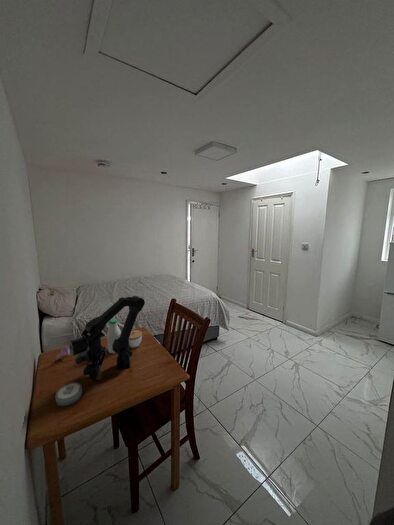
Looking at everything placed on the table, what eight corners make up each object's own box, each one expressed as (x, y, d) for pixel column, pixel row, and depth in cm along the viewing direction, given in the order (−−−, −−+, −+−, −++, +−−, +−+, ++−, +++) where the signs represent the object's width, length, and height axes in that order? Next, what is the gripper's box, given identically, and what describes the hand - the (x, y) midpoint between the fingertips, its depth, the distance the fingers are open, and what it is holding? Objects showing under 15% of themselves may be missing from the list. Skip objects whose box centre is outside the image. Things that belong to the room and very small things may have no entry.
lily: (80, 352, 129) (72, 339, 129) (83, 353, 120) (74, 339, 120) (59, 366, 122) (50, 352, 121) (61, 368, 113) (52, 353, 112)
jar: (85, 387, 100) (84, 379, 99) (77, 404, 90) (76, 395, 89) (62, 390, 98) (61, 381, 97) (51, 407, 88) (50, 398, 88)
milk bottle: (113, 355, 125) (111, 323, 122) (105, 351, 129) (103, 320, 126) (124, 349, 132) (122, 319, 128) (116, 345, 136) (114, 316, 132)
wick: (101, 377, 106) (100, 365, 105) (100, 379, 105) (100, 366, 104) (93, 378, 106) (92, 366, 105) (92, 380, 104) (91, 367, 103)
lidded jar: (122, 344, 137) (121, 331, 135) (137, 339, 144) (137, 326, 142) (129, 351, 129) (129, 337, 127) (145, 345, 136) (144, 332, 135)
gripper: (83, 338, 110) (85, 365, 113) (69, 359, 92) (72, 391, 95) (105, 336, 112) (107, 362, 115) (96, 357, 94) (98, 388, 97)
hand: (96, 375), depth 105 cm, fingers open, 9 cm apart
